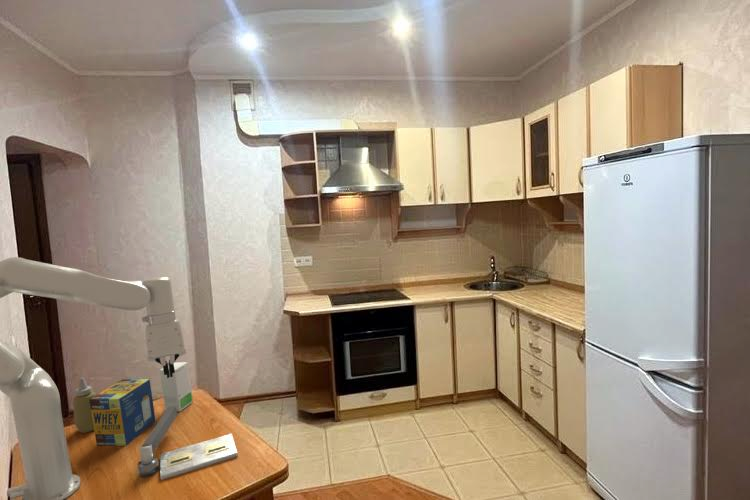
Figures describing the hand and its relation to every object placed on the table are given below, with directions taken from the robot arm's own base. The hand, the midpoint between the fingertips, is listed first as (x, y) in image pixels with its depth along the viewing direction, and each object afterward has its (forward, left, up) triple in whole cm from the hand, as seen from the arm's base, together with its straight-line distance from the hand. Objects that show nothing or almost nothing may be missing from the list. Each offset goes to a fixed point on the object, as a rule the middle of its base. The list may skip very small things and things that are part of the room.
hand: (169, 376), depth 136 cm
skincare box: (+1, +26, -21) cm, 34 cm away
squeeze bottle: (-27, +26, -21) cm, 43 cm away
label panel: (+5, -14, -21) cm, 26 cm away
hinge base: (-8, -14, -21) cm, 26 cm away
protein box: (-15, +15, -21) cm, 30 cm away
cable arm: (-5, -3, -18) cm, 19 cm away
